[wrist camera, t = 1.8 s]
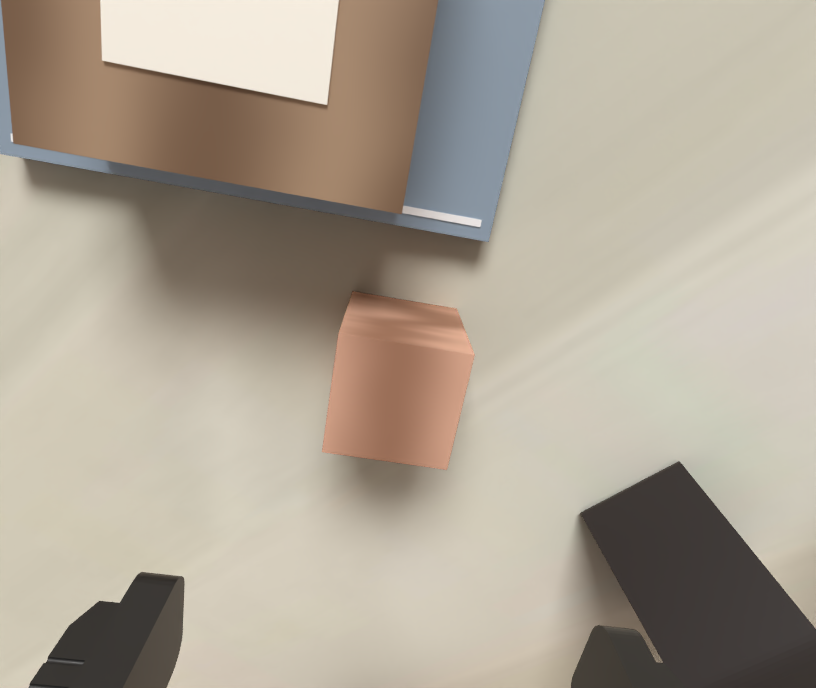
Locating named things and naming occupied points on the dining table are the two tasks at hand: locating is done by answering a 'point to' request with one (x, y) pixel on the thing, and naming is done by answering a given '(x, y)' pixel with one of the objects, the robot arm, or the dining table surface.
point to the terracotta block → (397, 381)
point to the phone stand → (701, 588)
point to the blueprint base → (278, 99)
